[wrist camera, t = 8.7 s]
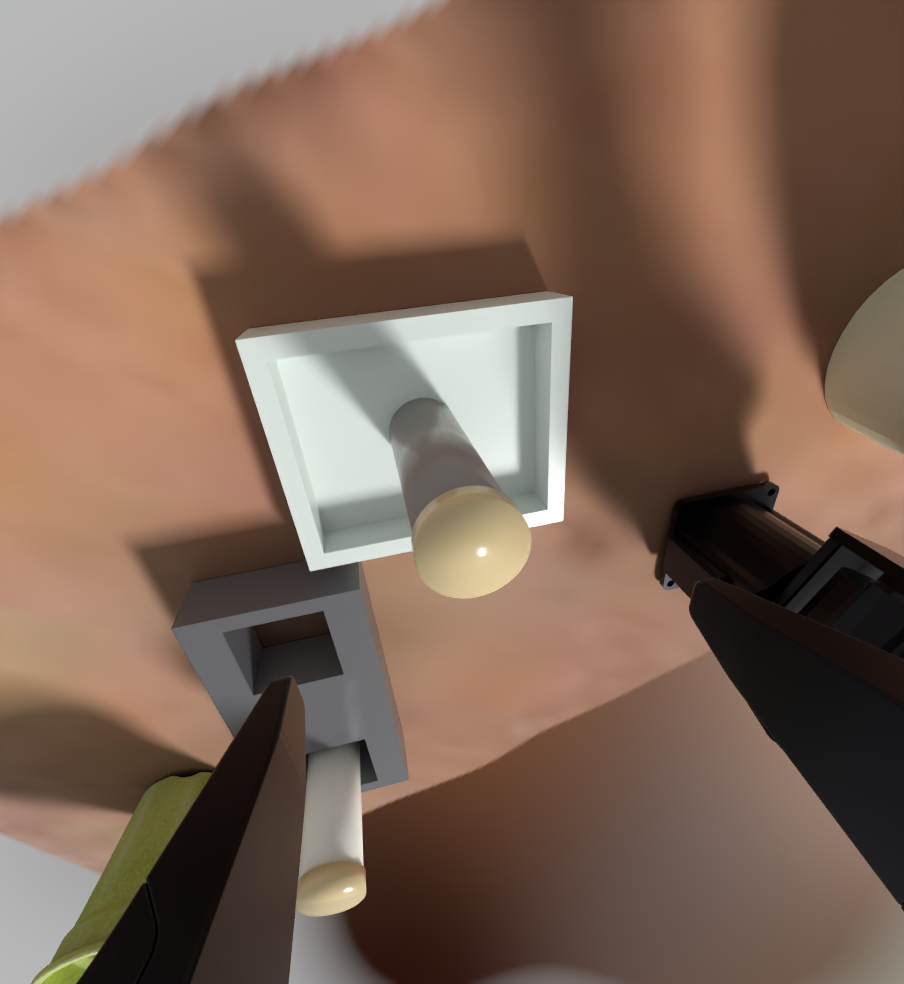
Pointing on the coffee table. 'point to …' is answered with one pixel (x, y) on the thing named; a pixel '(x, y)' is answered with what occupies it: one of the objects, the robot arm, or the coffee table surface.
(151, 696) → the coffee table surface
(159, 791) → the plant pot
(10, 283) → the coffee table surface
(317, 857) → the cylinder
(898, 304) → the reusable coffee cup
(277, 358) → the parts tray
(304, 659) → the fuse holder
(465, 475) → the cream capped cylinder
